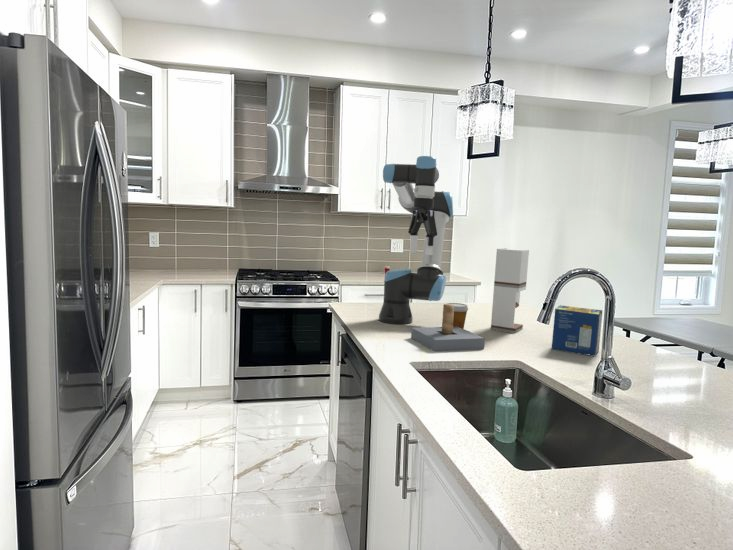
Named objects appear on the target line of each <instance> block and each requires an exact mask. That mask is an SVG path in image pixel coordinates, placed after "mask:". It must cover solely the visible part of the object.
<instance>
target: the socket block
mask: <svg viewBox="0 0 733 550" xmlns="http://www.w3.org/2000/svg"><path fill="white" fill-rule="evenodd" d="M410 339H412V340H414V341H415V342H417V343H419V344H421V345H423V346H425V347H427V348H428V349H431V350H432V351H433V352H446V351H447V352H449V351H468V350H484V349H485V344H486V343H485V340H486V338H485V337H482V336H480V335H478V334H476V333H474V332H471V331H469V330H467V329H462V328H460V327H453V332H452V335H443V334H442V326H431V327H426V326H425V327H424V326H423V327H411V335H410Z"/></svg>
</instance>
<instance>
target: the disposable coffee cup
mask: <svg viewBox="0 0 733 550" xmlns="http://www.w3.org/2000/svg"><path fill="white" fill-rule="evenodd" d="M445 304H451V305H454V318H453V327H460V328H462V329H464V328H465V324H466V318H467V312H468V310H469V308H468V304H465V303H461V302H460V303H459V302H446V303H445ZM464 330H465V329H464Z"/></svg>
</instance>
